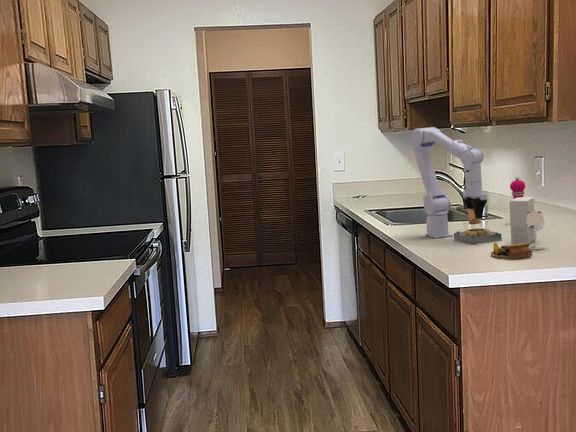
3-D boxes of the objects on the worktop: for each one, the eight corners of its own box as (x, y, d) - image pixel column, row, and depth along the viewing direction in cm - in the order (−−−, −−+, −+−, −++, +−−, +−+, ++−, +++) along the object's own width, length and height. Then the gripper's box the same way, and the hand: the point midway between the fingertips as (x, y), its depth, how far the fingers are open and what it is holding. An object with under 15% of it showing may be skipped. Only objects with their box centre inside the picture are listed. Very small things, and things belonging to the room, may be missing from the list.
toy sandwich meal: (527, 251, 197) (526, 237, 197) (537, 259, 184) (536, 244, 183) (488, 253, 199) (487, 239, 199) (495, 261, 186) (494, 246, 186)
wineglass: (540, 245, 202) (538, 210, 201) (548, 248, 197) (546, 212, 195) (523, 247, 202) (521, 212, 201) (531, 250, 197) (529, 214, 195)
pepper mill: (530, 224, 249) (527, 176, 247) (512, 225, 251) (509, 177, 249) (527, 221, 256) (524, 175, 254) (509, 222, 258) (506, 176, 256)
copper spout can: (471, 224, 222) (469, 207, 221) (466, 223, 226) (465, 206, 225) (483, 222, 222) (481, 205, 221) (478, 221, 226) (476, 204, 226)
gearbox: (450, 238, 234) (449, 229, 233) (479, 234, 236) (478, 225, 235) (471, 244, 217) (470, 234, 217) (501, 240, 219) (501, 230, 219)
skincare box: (518, 239, 217) (516, 197, 215) (537, 240, 213) (535, 196, 211) (510, 244, 211) (508, 200, 209) (529, 244, 206) (527, 199, 205)
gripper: (454, 182, 229) (457, 217, 230) (472, 183, 215) (475, 220, 216) (471, 180, 230) (474, 215, 231) (491, 181, 216) (493, 218, 217)
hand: (475, 217), depth 224 cm, fingers closed on copper spout can, 4 cm apart
